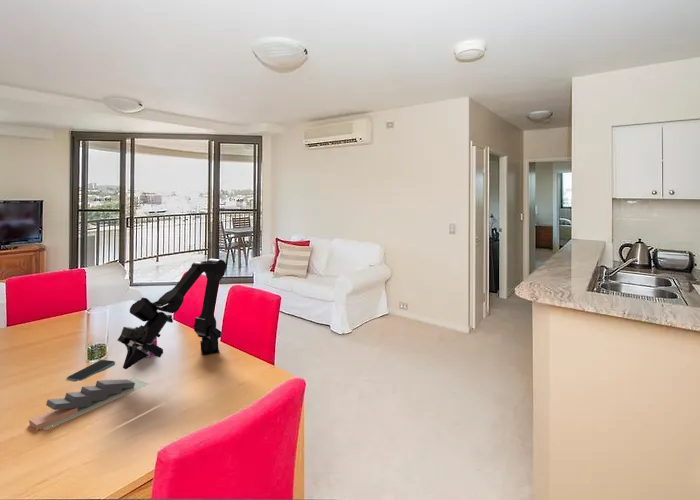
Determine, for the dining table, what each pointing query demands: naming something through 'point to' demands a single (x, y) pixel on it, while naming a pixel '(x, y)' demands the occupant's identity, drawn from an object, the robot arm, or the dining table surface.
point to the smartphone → (91, 370)
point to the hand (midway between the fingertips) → (124, 368)
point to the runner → (101, 402)
